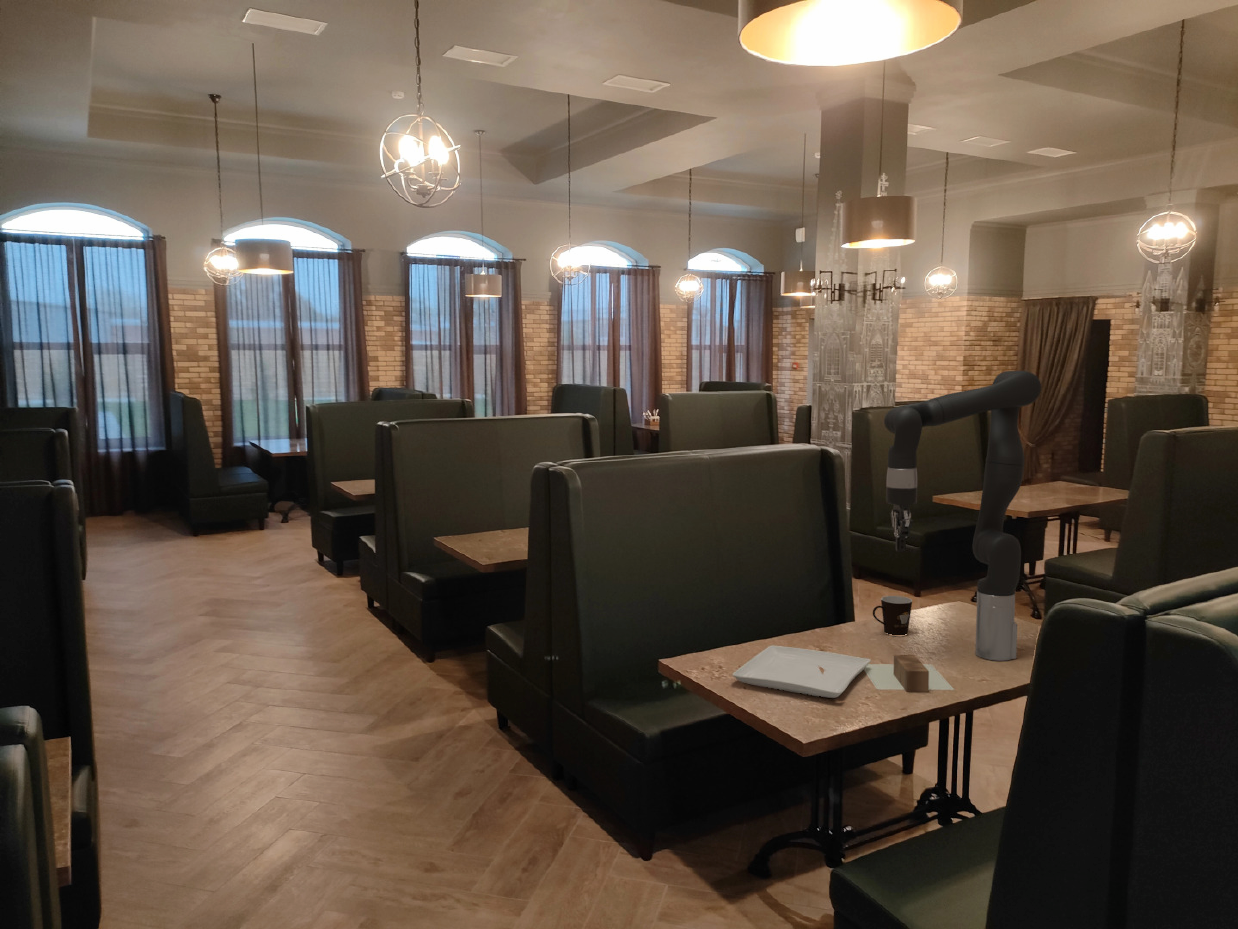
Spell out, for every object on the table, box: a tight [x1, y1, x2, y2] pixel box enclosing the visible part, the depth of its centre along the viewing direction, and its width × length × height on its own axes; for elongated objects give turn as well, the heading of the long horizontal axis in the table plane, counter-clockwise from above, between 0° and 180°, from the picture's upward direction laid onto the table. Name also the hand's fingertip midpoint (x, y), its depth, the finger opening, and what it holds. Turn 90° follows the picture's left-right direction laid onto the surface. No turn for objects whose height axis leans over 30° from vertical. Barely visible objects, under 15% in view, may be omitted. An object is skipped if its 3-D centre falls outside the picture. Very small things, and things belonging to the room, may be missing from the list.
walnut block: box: [893, 654, 929, 693], centre depth 209 cm, size 5×5×12 cm
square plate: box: [731, 644, 872, 699], centre depth 215 cm, size 27×27×4 cm
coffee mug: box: [872, 595, 913, 635], centre depth 250 cm, size 12×9×10 cm
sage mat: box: [863, 663, 955, 691], centre depth 214 cm, size 18×18×1 cm
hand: (900, 551), depth 224 cm, fingers closed
